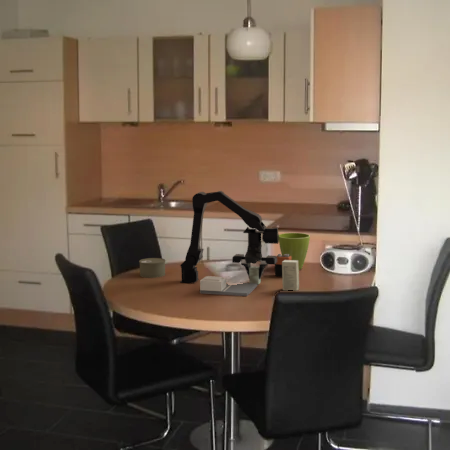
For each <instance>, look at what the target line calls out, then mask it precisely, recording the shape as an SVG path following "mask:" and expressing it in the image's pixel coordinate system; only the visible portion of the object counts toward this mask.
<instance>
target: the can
mask: <svg viewBox="0 0 450 450" xmlns="http://www.w3.org/2000/svg"><path fill="white" fill-rule="evenodd" d="M138 263H139V276H140V277H142V278H146V279H147V278H148V279H152V278H162V277H164V276H166V259H165V258H160V257H148V258H142V259H140V260H139V261H138Z"/></svg>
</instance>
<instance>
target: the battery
mask: <svg viewBox="0 0 450 450" xmlns="http://www.w3.org/2000/svg"><path fill="white" fill-rule="evenodd" d="M275 256H276V257H277V263H276V264H274V277H278V278H279V277H281V278H282V262H283V261H284V260H292V257H291V256H289V254H284V255H282V254H280V253H277V255H275Z"/></svg>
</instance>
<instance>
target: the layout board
mask: <svg viewBox="0 0 450 450" xmlns="http://www.w3.org/2000/svg"><path fill="white" fill-rule="evenodd" d="M242 283H243V284H237V285H228V284H227V283H226V288H225V289H224V290H222V291H206V290H199V293H200V294H205V295H208V294H209V295H221V296H222V295H223V296H237V297H239V296H240V297H248V296H249V295H250V294H251V293H252V292H253V291H254V290H255V289H256V288H257V287H258V285H257V283H249V282H242Z"/></svg>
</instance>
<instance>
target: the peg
mask: <svg viewBox="0 0 450 450" xmlns="http://www.w3.org/2000/svg"><path fill="white" fill-rule="evenodd" d="M259 270H260V266H253V265H252V266H251V267H250V268H249V276H248V279H249V280H248V281H249V282H248V283H257V286H259V284H261V282H262V281H261V280H262V279H259Z"/></svg>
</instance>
